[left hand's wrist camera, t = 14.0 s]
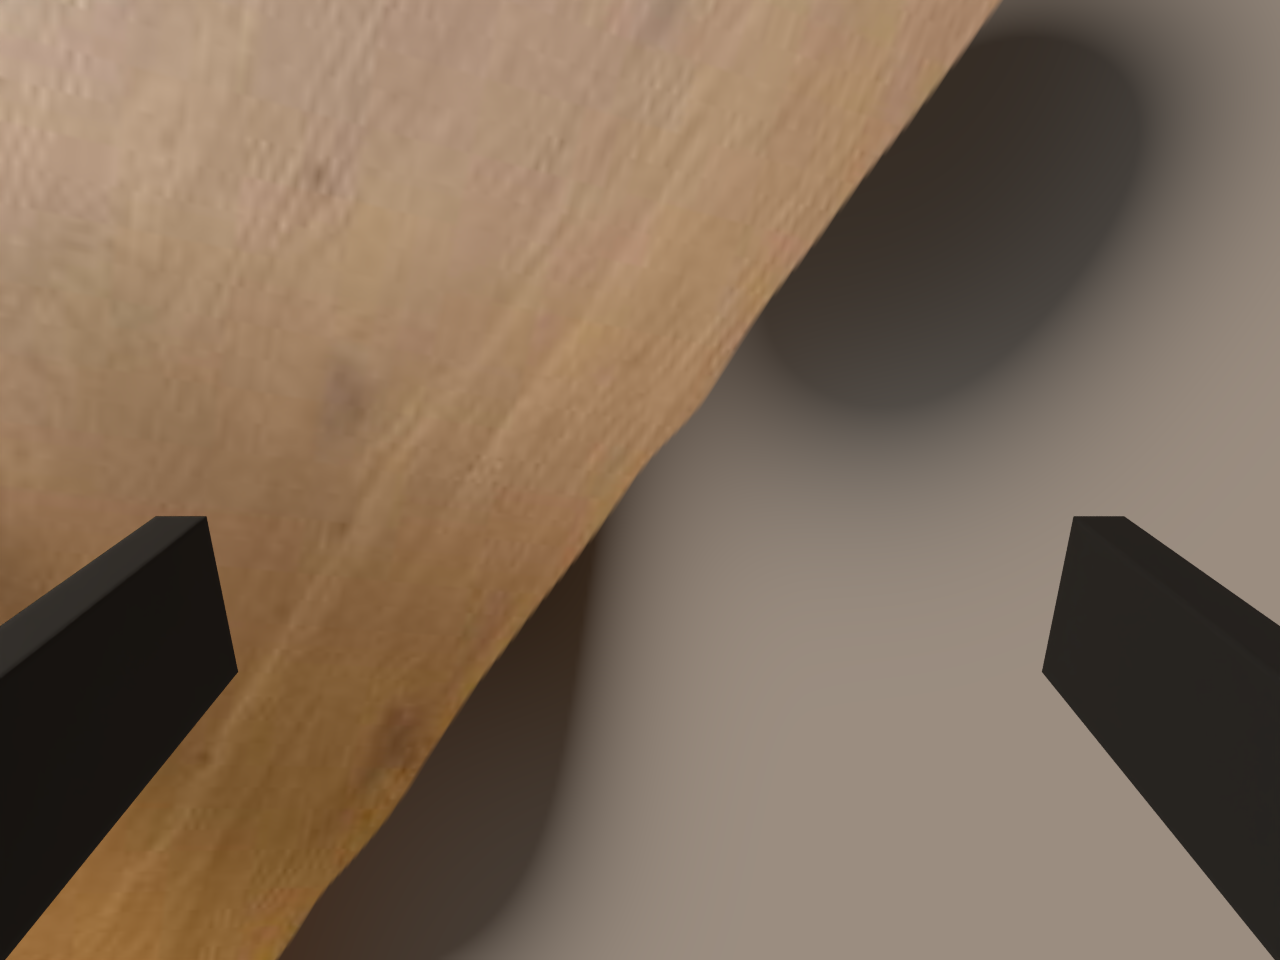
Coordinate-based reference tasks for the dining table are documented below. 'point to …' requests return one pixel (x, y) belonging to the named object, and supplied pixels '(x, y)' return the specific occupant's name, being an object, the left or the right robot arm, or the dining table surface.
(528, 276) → the dining table surface
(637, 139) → the dining table surface
